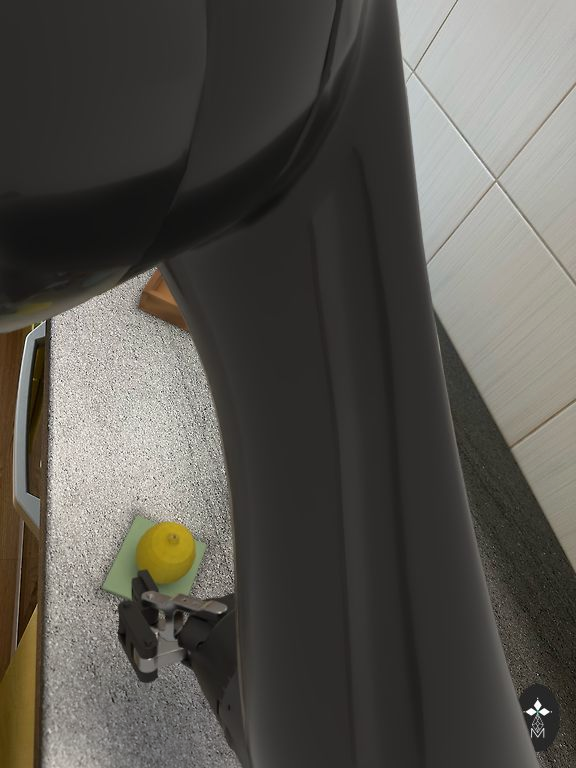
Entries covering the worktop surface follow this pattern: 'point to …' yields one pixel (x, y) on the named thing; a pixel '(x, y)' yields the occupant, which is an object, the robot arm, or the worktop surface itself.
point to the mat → (128, 568)
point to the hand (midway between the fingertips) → (192, 570)
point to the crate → (160, 301)
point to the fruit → (166, 552)
